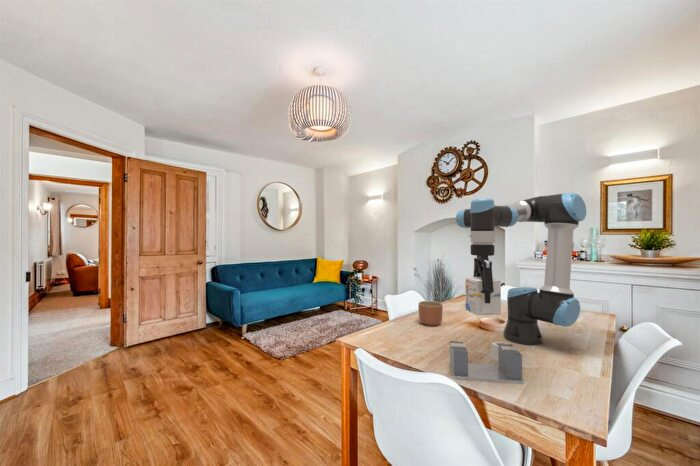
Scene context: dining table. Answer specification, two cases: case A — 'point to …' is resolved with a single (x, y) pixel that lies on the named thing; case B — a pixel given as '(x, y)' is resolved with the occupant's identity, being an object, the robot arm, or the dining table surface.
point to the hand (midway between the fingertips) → (482, 308)
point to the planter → (430, 312)
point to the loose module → (495, 350)
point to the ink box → (475, 296)
